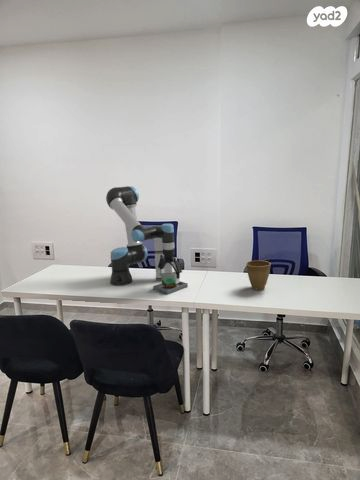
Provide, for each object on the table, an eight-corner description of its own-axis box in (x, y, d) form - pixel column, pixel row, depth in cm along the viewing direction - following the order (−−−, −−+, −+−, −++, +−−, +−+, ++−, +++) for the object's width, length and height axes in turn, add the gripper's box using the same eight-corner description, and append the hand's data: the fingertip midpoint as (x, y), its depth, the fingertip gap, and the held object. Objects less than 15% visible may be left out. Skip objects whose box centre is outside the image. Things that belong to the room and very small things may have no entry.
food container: (162, 290, 215) (161, 275, 213) (160, 287, 221) (159, 272, 219) (181, 287, 218) (180, 272, 216) (178, 284, 224) (178, 270, 222)
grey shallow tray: (153, 289, 219) (152, 286, 219) (173, 282, 231) (173, 279, 230) (167, 294, 209) (167, 290, 209) (187, 287, 221) (187, 283, 221)
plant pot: (275, 287, 214) (275, 262, 211) (261, 293, 204) (261, 268, 201) (255, 282, 225) (255, 258, 222) (241, 288, 215) (241, 263, 212)
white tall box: (174, 275, 245) (172, 227, 238) (172, 280, 235) (170, 230, 228) (159, 275, 247) (156, 228, 240) (156, 280, 237) (153, 230, 230)
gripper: (151, 247, 221) (153, 278, 225) (177, 252, 203) (179, 286, 208) (160, 244, 226) (161, 275, 230) (186, 250, 208) (188, 283, 213)
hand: (170, 280), depth 219 cm, fingers open, 13 cm apart
